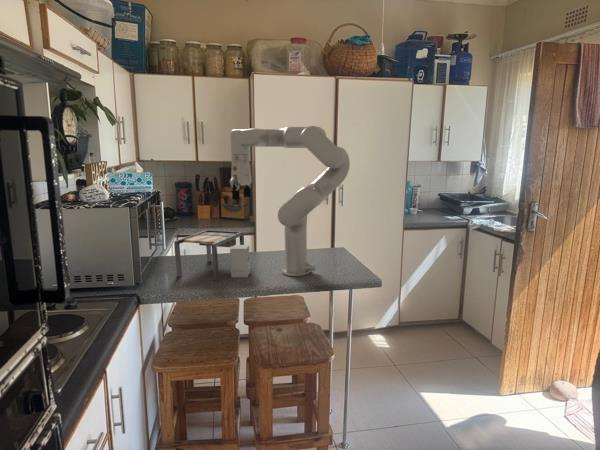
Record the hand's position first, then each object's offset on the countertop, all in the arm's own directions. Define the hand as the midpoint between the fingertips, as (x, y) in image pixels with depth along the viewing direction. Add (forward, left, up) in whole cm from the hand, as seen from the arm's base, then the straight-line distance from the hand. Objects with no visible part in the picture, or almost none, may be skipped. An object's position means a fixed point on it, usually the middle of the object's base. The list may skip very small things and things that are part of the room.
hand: (241, 198), depth 173 cm
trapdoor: (+14, +5, -22) cm, 27 cm away
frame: (+14, +5, -33) cm, 36 cm away
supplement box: (-2, +8, -33) cm, 34 cm away
